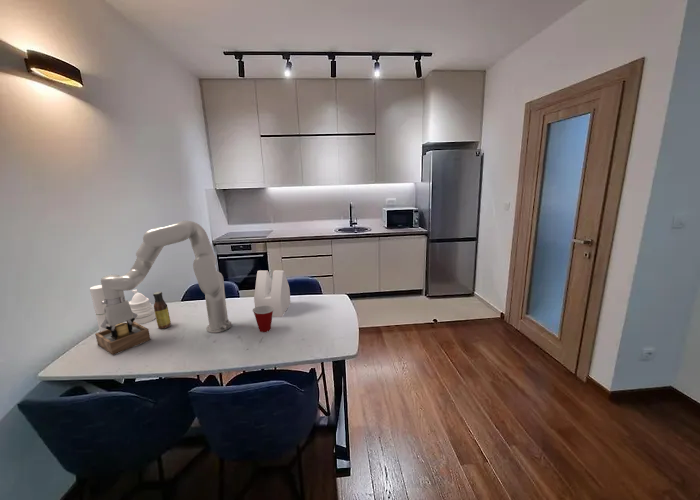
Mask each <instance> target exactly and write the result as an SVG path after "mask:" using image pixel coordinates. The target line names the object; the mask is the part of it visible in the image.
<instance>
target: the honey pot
mask: <svg viewBox="0 0 700 500" xmlns="http://www.w3.org/2000/svg"><path fill="white" fill-rule="evenodd" d="M131 292H132V293H133V294H134V295H133V296H132V297H131V300H130V301H128V302H129V304H130V307H131V310H132V312H133V313H135V314H137V315H138V316H137V317H136V318H135V320H134V322H136V323H138V324H140V325H142V324H147V323H150V322H153V320H156V316H155V311H154V305H152V302H150V298H148V297H146V296H145V295H144V294H143V293H141V292H138V289H132V290H131Z"/></svg>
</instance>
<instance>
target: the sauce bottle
mask: <svg viewBox="0 0 700 500" xmlns="http://www.w3.org/2000/svg"><path fill="white" fill-rule="evenodd" d="M152 296H153V297H154V304H153V308H154V311H155V316H156V318H155V320H156V323H157V324H156V325H157V327H158V329H161V330H162V329H163V330H164V329H167V328H170V327H171V326H172V322H171V317H170V313H169V308H168V305H167V303H166V301H165V300H164V297H163V292H162V291H156V292H153V294H152Z"/></svg>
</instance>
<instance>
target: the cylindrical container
mask: <svg viewBox="0 0 700 500" xmlns="http://www.w3.org/2000/svg"><path fill="white" fill-rule="evenodd" d="M89 292H90V295H91V300H92V304H93V309H94V313H95V316H96V321H97V325H98V330H99V332H102V331H104V330H107V329H105V328H102V327H101V325H102V323H103V322H104V320H105V312H104V307H105V305H106V304H102V301H104V299H105V298H104V293H103V289H102V285H101V284H98V285H97V284H96V285H93V286H91V287H89ZM106 326H109V327H110V325H109V324H106ZM115 326H116V325H115Z"/></svg>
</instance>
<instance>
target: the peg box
mask: <svg viewBox="0 0 700 500" xmlns="http://www.w3.org/2000/svg"><path fill="white" fill-rule="evenodd" d="M132 329H133V330H132V332H129V334H130V335H129V336H126V337H123V338H121V339H118V340H117V338H115V337H113V336H112V334H111V330H108V329H107V330H104V331H102V332H100V331H99V332H96V333H95V337H96V343H97V345H98V346H99V347H101V349H103V350H104V351H106V352H108V353H109V354H110V355H112V356H115V355H118V354H119V353H122V352H124V351H126V350H129V349H132V348H134V347H136V346H138V345H141V344H143V343H146V342H149V341H150V340H151V336H150V335H151V334H150V330H149V328H147V327H146V326H144V325H142V324H138V323H136V322H134V321H133V323H132Z"/></svg>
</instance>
